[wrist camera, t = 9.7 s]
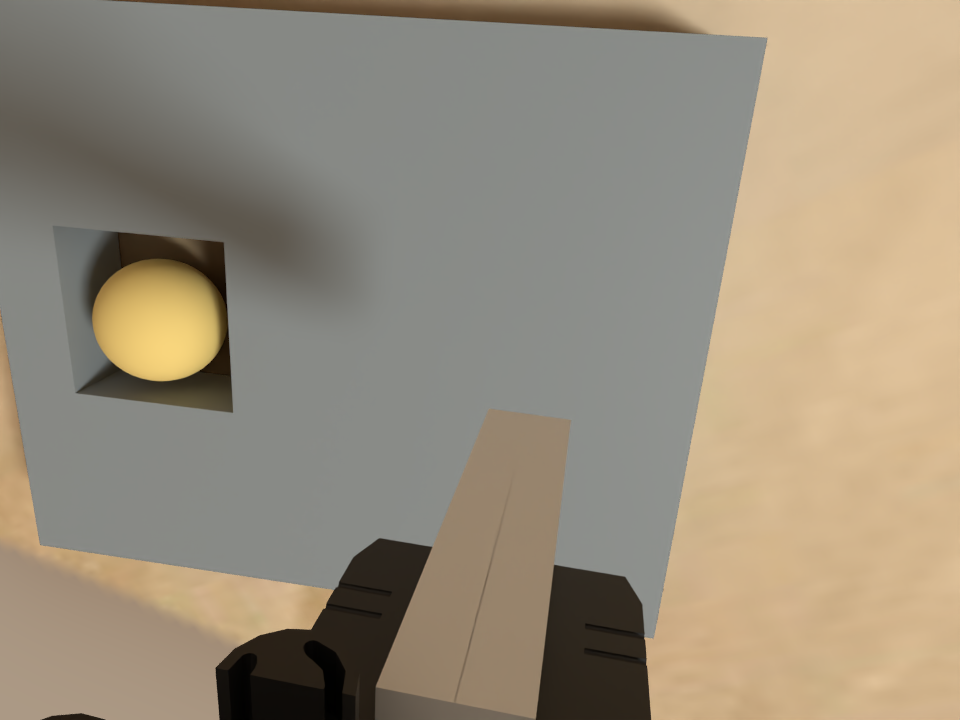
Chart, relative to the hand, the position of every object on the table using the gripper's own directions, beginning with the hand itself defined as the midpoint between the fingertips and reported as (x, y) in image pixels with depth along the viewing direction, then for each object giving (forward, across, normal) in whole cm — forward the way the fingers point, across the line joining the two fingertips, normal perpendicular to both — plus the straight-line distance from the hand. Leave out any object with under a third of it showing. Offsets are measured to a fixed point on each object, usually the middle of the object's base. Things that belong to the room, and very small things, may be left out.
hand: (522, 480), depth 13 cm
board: (+10, -7, -1) cm, 12 cm away
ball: (+9, -11, -1) cm, 14 cm away
